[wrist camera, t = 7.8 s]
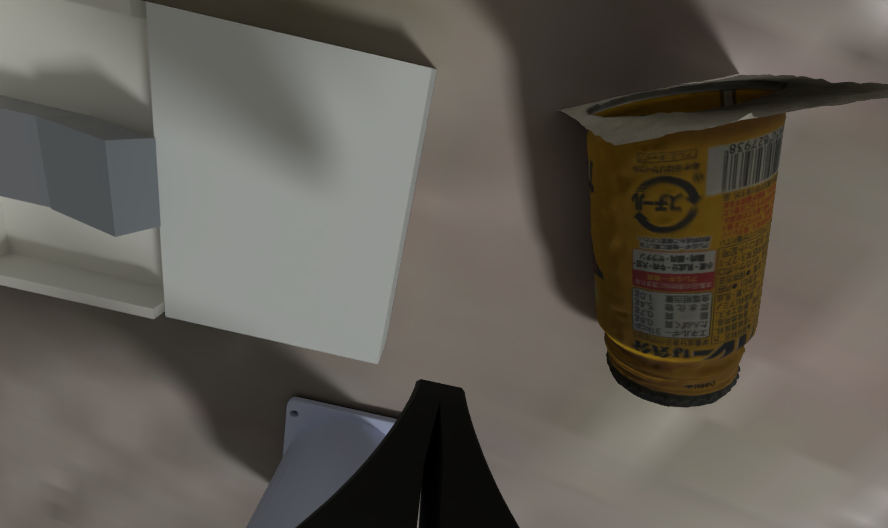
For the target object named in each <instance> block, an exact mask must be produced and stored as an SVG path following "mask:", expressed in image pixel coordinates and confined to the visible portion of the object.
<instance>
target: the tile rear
mask: <svg viewBox="0 0 888 528" xmlns="http://www.w3.org/2000/svg"><path fill="white" fill-rule="evenodd" d="M35 115H85V114H81V113H76V112H72V111H68V110H63V109H59V108H55V107H50V106H46V105H42V104H37V103H33V102H29V101H24V100H20V99H15V98H11V97H7V96H2V95H0V196H2V197H7V198H11V199H15V200H20V201H24V202H29V203H33V204H37V205H42V206H46V207H51V206H50V200H49V194H48V188H47V182H46V176H45V171H44V165H43V159H42V153H41V147H40V141H39V135H38V129H37V124H36V118H35Z"/></svg>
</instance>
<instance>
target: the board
mask: <svg viewBox="0 0 888 528" xmlns="http://www.w3.org/2000/svg"><path fill="white" fill-rule="evenodd" d="M146 16H147V32H148V48H149V64H150V80H151V96H152V112H153V128H154V138H155V141H156V158H157V174H158V190H159V206H160V222H161V226H160V240H161V256H162V272H163V288H164V304H165V317H169V318H174V319H178V320H183V321H187V322H192V323H196V324H201V325H205V326H209V327H214V328H218V329H223V330H227V331H232V332H236V333H241V334H245V335H250V336H254V337H259V338H263V339H268V340H272V341H276V342H281V343H285V344H290V345H294V346H299V347H303V348H308V349H312V350H317V351H321V352H326V353H330V354H335V355H339V356H343V357H348V358H352V359H357V360H361V361H366V362H370V363H375V364H378V362H379V359H380V357H381V354H382V351H383V348H384V346H385V343H386V338H387V333H388V327H389V322H390V317H391V311H392V306H393V301H394V295H395V290H396V285H397V279H398V274H399V269H400V263H401V258H402V253H403V248H404V242H405V237H406V232H407V226H408V221H409V216H410V210H411V205H412V200H413V194H414V189H415V184H416V178H417V173H418V168H419V162H420V157H421V152H422V146H423V141H424V136H425V130H426V125H427V120H428V115H429V109H430V104H431V99H432V93H433V88H434V83H435V77H436V72H437V70H436V69H433V68H429V67H425V66H420V65H416V64H412V63H408V62H403V61H399V60H395V59H390V58H386V57H382V56H378V55H373V54H369V53H365V52H360V51H356V50H352V49H348V48H343V47H339V46H335V45H331V44H326V43H322V42H318V41H313V40H309V39H305V38H301V37H296V36H292V35H288V34H284V33H279V32H275V31H271V30H266V29H262V28H258V27H254V26H249V25H245V24H241V23H236V22H232V21H228V20H224V19H219V18H215V17H211V16H207V15H202V14H198V13H194V12H189V11H185V10H181V9H177V8H172V7H168V6H164V5H160V4H155V3H151V2H147V1H146Z"/></svg>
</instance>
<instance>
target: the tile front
mask: <svg viewBox="0 0 888 528" xmlns="http://www.w3.org/2000/svg"><path fill="white" fill-rule="evenodd" d="M35 118H36V124H37V129H38V135H39V141H40V147H41V153H42V159H43V165H44V171H45V176H46V182H47V188H48V194H49V200H50V206H51V209H52V210H55V211H57V212H59V213H61V214H64V215H66V216H68V217H71V218H73V219H75V220H77V221H80V222H82V223H84V224H87V225H89V226H91V227H93V228H96V229H98V230H100V231H103V232H105V233H107V234H109V235H112V236H114V237H118V236H122V235H126V234H130V233H134V232H138V231H143V230H147V229H151V228H155V227H159V226H161V222H160V206H159V190H158V174H157V158H156V141H155V138H154V137H151V136H148V135H145V134H142V133H139V132H136V131H134V130H131V129H128V128H125V127H122V126H119V125H116V124H113V123H110V122H107V121H104V120H101V119H98V118H96V117H93V116H90V115H35Z"/></svg>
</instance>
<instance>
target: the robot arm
mask: <svg viewBox="0 0 888 528" xmlns="http://www.w3.org/2000/svg"><path fill="white" fill-rule="evenodd" d="M294 411H297V412H298V413H296V412H294ZM421 485H422V486H421ZM420 494H421V501H420ZM419 503H420V517H419V528H519V526H518V524H517V522H516V521H515V519H514V517H513V515H512V514H511V512H510V510H509V508H508V506H507V504H506V503H505V501H504V499H503V497H502V495H501V493H500V491H499V489H498V487H497V485H496V483H495V480H494V478H493V476H492V474H491V472H490V469H489V467H488V465H487V462H486V460H485V457H484V455H483V452H482V450H481V447H480V444H479V442H478V439H477V436H476V433H475V430H474V427H473V424H472V421H471V417H470V414H469V410H468V407H467V402H466V398H465V392H464V391H463V389H462V388H459V387H455V386H450V385H445V384H441V383H436V382H431V381H427V380H422V379H420V380H418V381H416V384H415V388H414V390H413V392H412V395H411V397H410V399H409V401H408V402H407V404H406V406H405V408H404V409H403V411H402V413H401V414H400V416H399V417H398V419H394V418H390V417H385V416H381V415H376V414H372V413H367V412H363V411H358V410H354V409H349V408H345V407H340V406H336V405H331V404H327V403H322V402H318V401H313V400H309V399H304V398H300V397H292V398H291V399H290V400H289V401H288V403H287V409H286V421H285V434H284V446H283V458H282V460H281V462H280V464H279V466H278V468H277V470H276V472H275V473H274V475H273V477H272V479H271V481H270V483H269V485H268V487H267V489H266V491H265V492H264V494H263V496H262V498H261V500H260V502H259V504H258V506H257V508H256V510H255V512H254V513H253V515H252V517H251V519H250V521H249V523H248V525H247V527H246V528H417V520H418V511H419Z"/></svg>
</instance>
